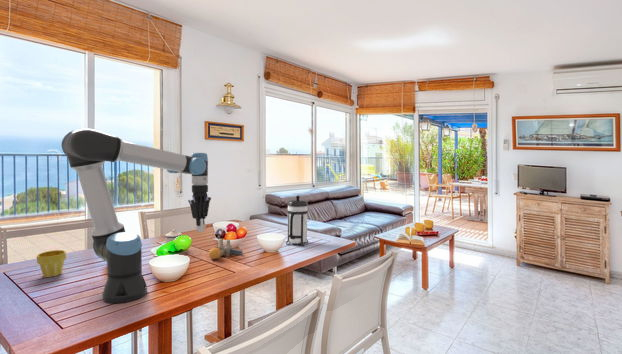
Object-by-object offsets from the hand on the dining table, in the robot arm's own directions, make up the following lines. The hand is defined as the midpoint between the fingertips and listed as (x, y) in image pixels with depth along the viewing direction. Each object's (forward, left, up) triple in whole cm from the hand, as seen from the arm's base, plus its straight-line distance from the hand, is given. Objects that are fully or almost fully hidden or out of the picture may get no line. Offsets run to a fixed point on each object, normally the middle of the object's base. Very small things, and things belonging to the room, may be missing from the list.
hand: (200, 231), depth 168 cm
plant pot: (-43, +46, -17) cm, 65 cm away
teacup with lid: (+11, +32, -17) cm, 38 cm away
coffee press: (+57, -23, -17) cm, 64 cm away
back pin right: (+17, -2, -16) cm, 24 cm away
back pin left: (+17, +2, -16) cm, 24 cm away
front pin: (+14, 0, -15) cm, 21 cm away
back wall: (+22, 0, -16) cm, 27 cm away
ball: (+10, 0, -13) cm, 17 cm away
